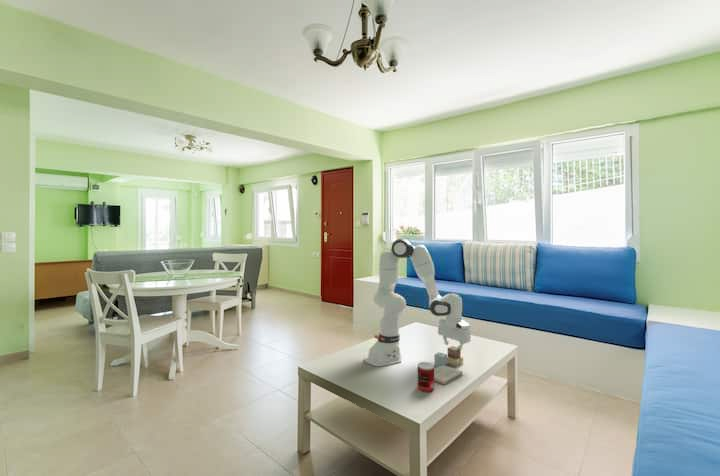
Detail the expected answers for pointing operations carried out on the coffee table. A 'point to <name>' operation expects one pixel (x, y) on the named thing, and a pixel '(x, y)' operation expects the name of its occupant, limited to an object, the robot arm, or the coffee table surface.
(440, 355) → the grey-blue block
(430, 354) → the coffee table surface
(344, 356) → the coffee table surface
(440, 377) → the washcloth
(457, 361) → the oak base block
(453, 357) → the walnut block
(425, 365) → the canned food
